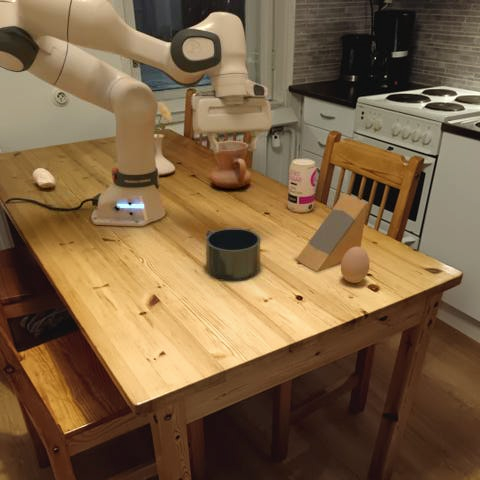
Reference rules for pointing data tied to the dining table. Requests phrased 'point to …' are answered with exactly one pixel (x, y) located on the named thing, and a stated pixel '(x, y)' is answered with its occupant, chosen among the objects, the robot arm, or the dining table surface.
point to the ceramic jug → (231, 166)
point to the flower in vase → (161, 162)
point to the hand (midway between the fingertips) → (235, 152)
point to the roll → (43, 178)
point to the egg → (355, 265)
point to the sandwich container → (336, 234)
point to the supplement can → (301, 185)
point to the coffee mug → (232, 254)
